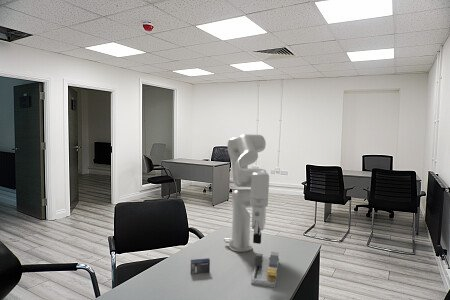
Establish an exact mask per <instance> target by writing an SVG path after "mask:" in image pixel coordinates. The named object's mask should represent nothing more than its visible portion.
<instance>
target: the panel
mask: <svg viewBox="0 0 450 300" xmlns="http://www.w3.org/2000/svg"><path fill="white" fill-rule="evenodd" d="M269 257H270V256H264V255H263V259H262V267H261V266H255V265H254V269H253V272H252V275H251V278H250V284H251V285H256V286H257V285H258V286H263V287H271V288H276V286H277V280H278V279H277V277H278V272H279V271H278V270H279V264H280V260H279V261H278V265H277V267H275V266H269V262H270V260H269ZM268 267H273V268H277V273H276V276H273V275H267V269H268Z"/></svg>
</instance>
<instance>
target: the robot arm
mask: <svg viewBox="0 0 450 300" xmlns="http://www.w3.org/2000/svg"><path fill="white" fill-rule="evenodd" d="M266 145H267V143H266V138H265V137H264V136H263V135H261V134H247V133H245V134H241V135H240V136H238V137H236V136H235V137H232V138H231V137H230V138H229V140H228V141H227V153H228V156H229V159H230V160H231V162H230V163H231V167H232V182H233V185H234V187H236V188H241V189H236V190H233V191H232V192H231V206H232V207H231V208H232V221H231V222H232V223H231V225H232V227H231V229H232V230H231V237H230V238H228V237H224V239H223V241H224V243H225V244H228V248H229V250H231V251H233V252H238V253H247V252H249V251H252V249H253V245H252V244H251V243H250V240H251V229H252V230H253V236H252V237H253V239H252V240H253V241H252V243H253V244H258V245H260V244H261V243H262V231H264V230H265V226H266V211H267V209H266V207H268V206H269V192H270V191H269V189H270V175H269V173H268V172H267V170H266V169H263V168H249V167H248V166H250V165H252V164H254V163H256V161H258V158H259V153H261V152H263V151H264V150H265V149H266ZM242 188H243V189H242ZM248 188H249V189H248ZM247 208H251V209H252V211H251V214H250V212H249V211H248V210H247Z"/></svg>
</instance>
